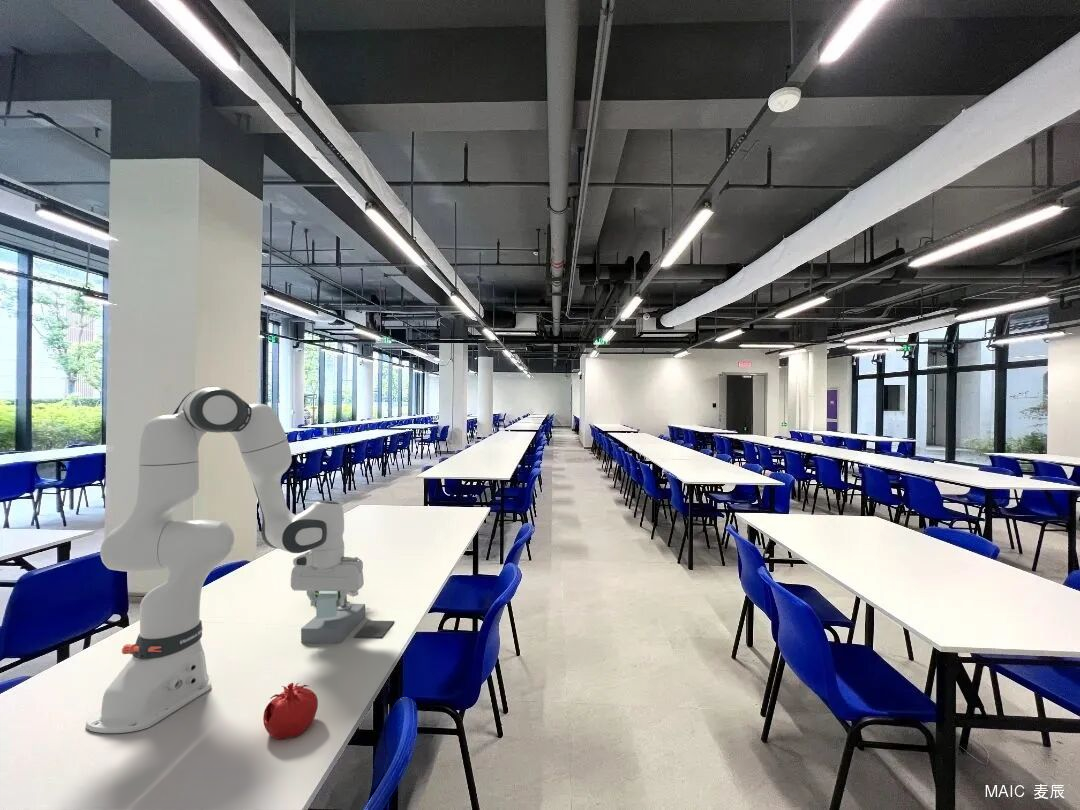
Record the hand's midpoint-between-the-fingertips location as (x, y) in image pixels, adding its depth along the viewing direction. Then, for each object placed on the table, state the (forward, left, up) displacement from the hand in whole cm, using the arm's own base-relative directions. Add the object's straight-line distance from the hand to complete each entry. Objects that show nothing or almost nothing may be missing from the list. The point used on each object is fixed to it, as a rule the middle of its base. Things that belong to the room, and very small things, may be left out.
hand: (327, 605), depth 137 cm
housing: (+5, 0, -9) cm, 10 cm away
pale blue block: (0, 0, -2) cm, 2 cm away
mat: (+5, -12, -9) cm, 16 cm away
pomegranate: (-38, -12, -9) cm, 41 cm away
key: (+8, -2, -4) cm, 10 cm away
